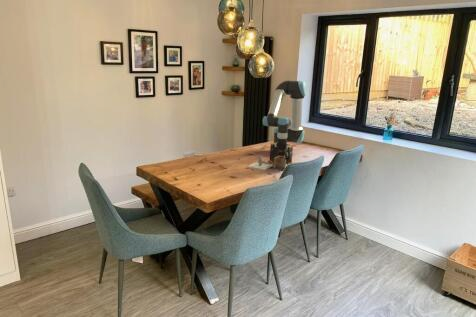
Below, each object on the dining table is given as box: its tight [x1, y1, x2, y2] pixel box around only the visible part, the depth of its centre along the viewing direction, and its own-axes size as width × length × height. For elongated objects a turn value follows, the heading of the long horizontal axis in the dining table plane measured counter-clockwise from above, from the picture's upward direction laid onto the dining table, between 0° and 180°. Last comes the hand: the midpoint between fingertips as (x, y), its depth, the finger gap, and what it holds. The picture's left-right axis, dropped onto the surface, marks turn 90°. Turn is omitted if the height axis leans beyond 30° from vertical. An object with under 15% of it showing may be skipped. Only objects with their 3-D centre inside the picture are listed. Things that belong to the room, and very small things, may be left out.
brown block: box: [273, 156, 286, 167], centre depth 278 cm, size 8×8×6 cm
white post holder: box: [247, 155, 273, 172], centre depth 281 cm, size 14×14×9 cm
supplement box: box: [269, 142, 294, 166], centre depth 293 cm, size 10×15×16 cm
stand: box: [273, 165, 286, 172], centre depth 279 cm, size 7×7×3 cm
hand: (280, 166), depth 279 cm, fingers closed on brown block, 8 cm apart
